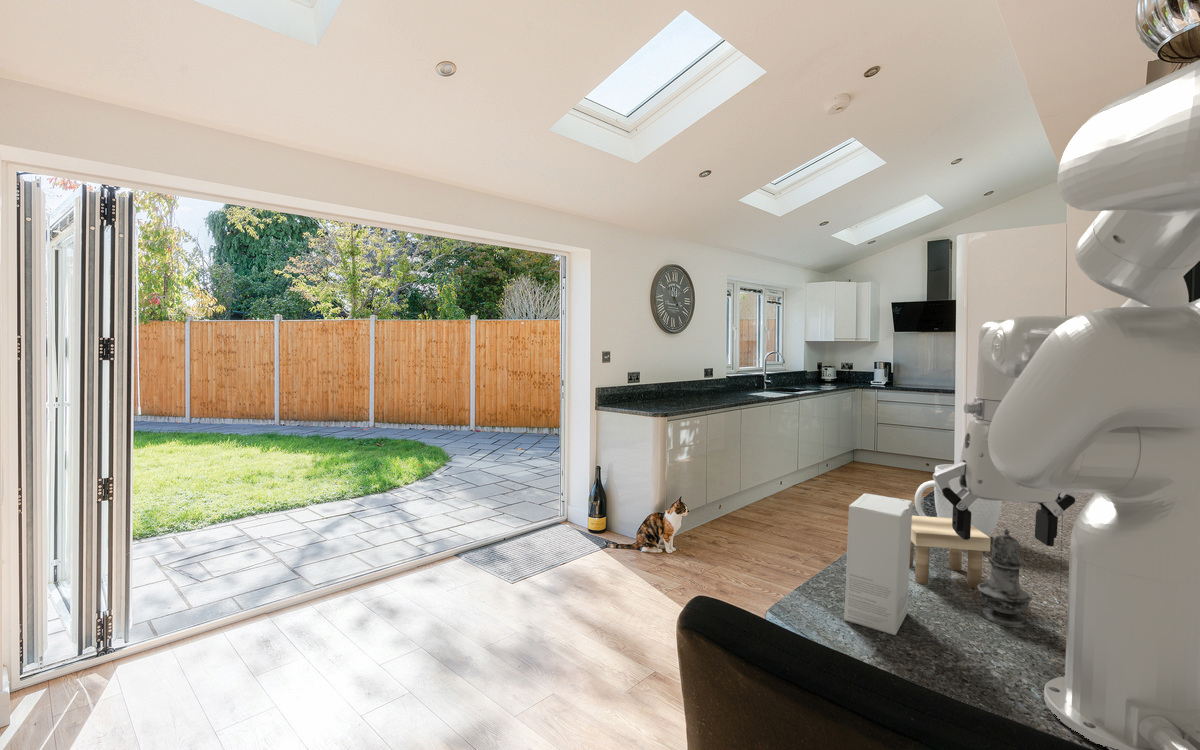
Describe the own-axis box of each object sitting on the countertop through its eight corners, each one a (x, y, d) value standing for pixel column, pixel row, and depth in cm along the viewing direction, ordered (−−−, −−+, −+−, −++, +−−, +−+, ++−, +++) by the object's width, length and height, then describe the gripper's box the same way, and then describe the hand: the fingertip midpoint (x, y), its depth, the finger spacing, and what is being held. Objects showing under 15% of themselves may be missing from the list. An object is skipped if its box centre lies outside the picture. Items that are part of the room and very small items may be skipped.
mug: (927, 542, 103) (929, 473, 103) (902, 525, 114) (904, 462, 114) (1013, 547, 101) (1016, 476, 101) (980, 528, 112) (982, 465, 112)
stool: (988, 591, 82) (990, 538, 82) (914, 584, 84) (916, 532, 84) (960, 566, 92) (962, 518, 91) (895, 560, 94) (896, 514, 94)
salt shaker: (1041, 631, 70) (1044, 537, 70) (989, 625, 71) (992, 534, 71) (1016, 610, 76) (1019, 524, 76) (968, 605, 77) (971, 521, 77)
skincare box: (859, 599, 79) (862, 491, 78) (912, 614, 75) (915, 500, 74) (842, 621, 72) (845, 503, 72) (898, 638, 68) (902, 513, 67)
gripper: (947, 414, 71) (941, 544, 72) (1105, 419, 67) (1096, 556, 69) (927, 407, 78) (921, 525, 80) (1068, 411, 75) (1060, 535, 76)
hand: (1002, 539), depth 74 cm, fingers open, 9 cm apart
